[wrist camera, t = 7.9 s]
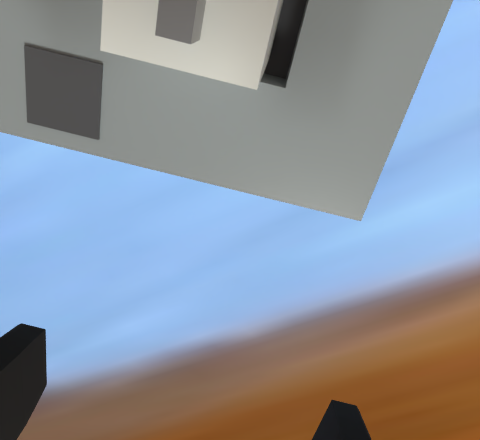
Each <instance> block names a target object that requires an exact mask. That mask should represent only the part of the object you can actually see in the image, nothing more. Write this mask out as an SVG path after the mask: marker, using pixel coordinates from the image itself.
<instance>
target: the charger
mask: <svg viewBox="0 0 480 440" xmlns="http://www.w3.org/2000/svg"><path fill="white" fill-rule="evenodd" d="M282 4H283V0H103V5H102V26H101V46H100V51H104V52H108V53H112V54H116V55H120V56H124V57H128V58H132V59H136V60H140V61H144V62H148V63H152V64H156V65H160V66H164V67H168V68H172V69H176V70H180V71H184V72H188V73H192V74H195V75H199V76H203V77H207V78H211V79H215V80H219V81H223V82H227V83H231V84H235V85H239V86H243V87H247V88H251V89H255V90H257V89H258V86H259V84H260V81H261V79H262V76H263V73H264V71H265V68H266V66H267V63H268V60H269V58H270V54H271V49H272V45H273V41H274V37H275V33H276V29H277V25H278V20H279V16H280V12H281V8H282Z"/></svg>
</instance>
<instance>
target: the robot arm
mask: <svg viewBox="0 0 480 440" xmlns="http://www.w3.org/2000/svg"><path fill="white" fill-rule="evenodd" d="M46 385H47V376H46V332H45V329H42V328H38V327H34V326H30V325H26V324H19V325H17V326H16V327H14V328H13V329H12V330H10V331H9V332H7V333H6V334H5V335H3V336H2V337H0V440H17V438H18V436H19V435H20V433H21V432H22V430H23V429H24V427H25V426H26V424H27V422H28V420H29V418H30V416H31V414H32V412H33V411H34V409H35V407H36V405H37V403H38V401H39V399H40V397H41V395H42V393H43V391H44V389H45V387H46ZM312 440H371V437H370V435H369V433H368V430H367V428H366V426H365V423H364V421H363V419H362V416H361V414H360V412H359V409H358V408H357V406H355V405H351V404H347V403H343V402H339V401H335V400H332V401H331V403H330V405H329V407H328V409H327V411H326V413H325V415H324V417H323V419H322V421H321V423H320V425H319V427H318V429H317V431H316V433H315V435H314V437H313V439H312Z"/></svg>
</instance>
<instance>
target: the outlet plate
mask: <svg viewBox="0 0 480 440" xmlns="http://www.w3.org/2000/svg"><path fill="white" fill-rule="evenodd" d="M452 2H453V0H283V4H282V8H281V12H280V16H279V20H278V25H277V29H276V33H275V37H274V41H273V45H272V49H271V54H270V58H269V60H268V63H267V66H266V68H265V71H264V73H263V76H262V79H261V81H260V84H259V86H258V89H257V90H255V89H251V88H247V87H243V86H239V85H235V84H231V83H227V82H223V81H219V80H215V79H211V78H207V77H203V76H199V75H195V74H192V73H188V72H184V71H180V70H176V69H172V68H168V67H164V66H160V65H156V64H152V63H148V62H144V61H140V60H136V59H132V58H128V57H124V56H120V55H116V54H112V53H108V52H104V51H100V46H101V26H102V5H103V0H0V132H3V133H7V134H11V135H15V136H19V137H23V138H27V139H31V140H35V141H39V142H43V143H47V144H51V145H55V146H59V147H63V148H67V149H72V150H76V151H80V152H84V153H88V154H92V155H96V156H100V157H104V158H108V159H112V160H116V161H120V162H124V163H128V164H132V165H136V166H140V167H144V168H148V169H152V170H156V171H160V172H164V173H168V174H173V175H177V176H181V177H185V178H189V179H193V180H197V181H201V182H205V183H209V184H213V185H217V186H221V187H225V188H229V189H233V190H237V191H241V192H245V193H249V194H253V195H257V196H261V197H265V198H269V199H273V200H278V201H282V202H286V203H290V204H294V205H298V206H302V207H306V208H310V209H314V210H318V211H322V212H326V213H330V214H334V215H338V216H342V217H346V218H350V219H354V220H358V221H361V220H362V217H363V215H364V212H365V210H366V208H367V205H368V203H369V200H370V198H371V196H372V193H373V191H374V188H375V186H376V184H377V181H378V179H379V176H380V174H381V172H382V169H383V167H384V164H385V162H386V160H387V157H388V155H389V152H390V150H391V148H392V145H393V143H394V140H395V138H396V136H397V133H398V131H399V129H400V126H401V124H402V121H403V119H404V117H405V114H406V112H407V109H408V107H409V105H410V102H411V100H412V97H413V95H414V93H415V90H416V88H417V85H418V83H419V81H420V78H421V76H422V73H423V71H424V69H425V66H426V64H427V61H428V59H429V57H430V54H431V52H432V49H433V47H434V45H435V42H436V40H437V38H438V35H439V33H440V30H441V28H442V26H443V23H444V21H445V18H446V16H447V14H448V11H449V9H450V6H451V4H452Z"/></svg>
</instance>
